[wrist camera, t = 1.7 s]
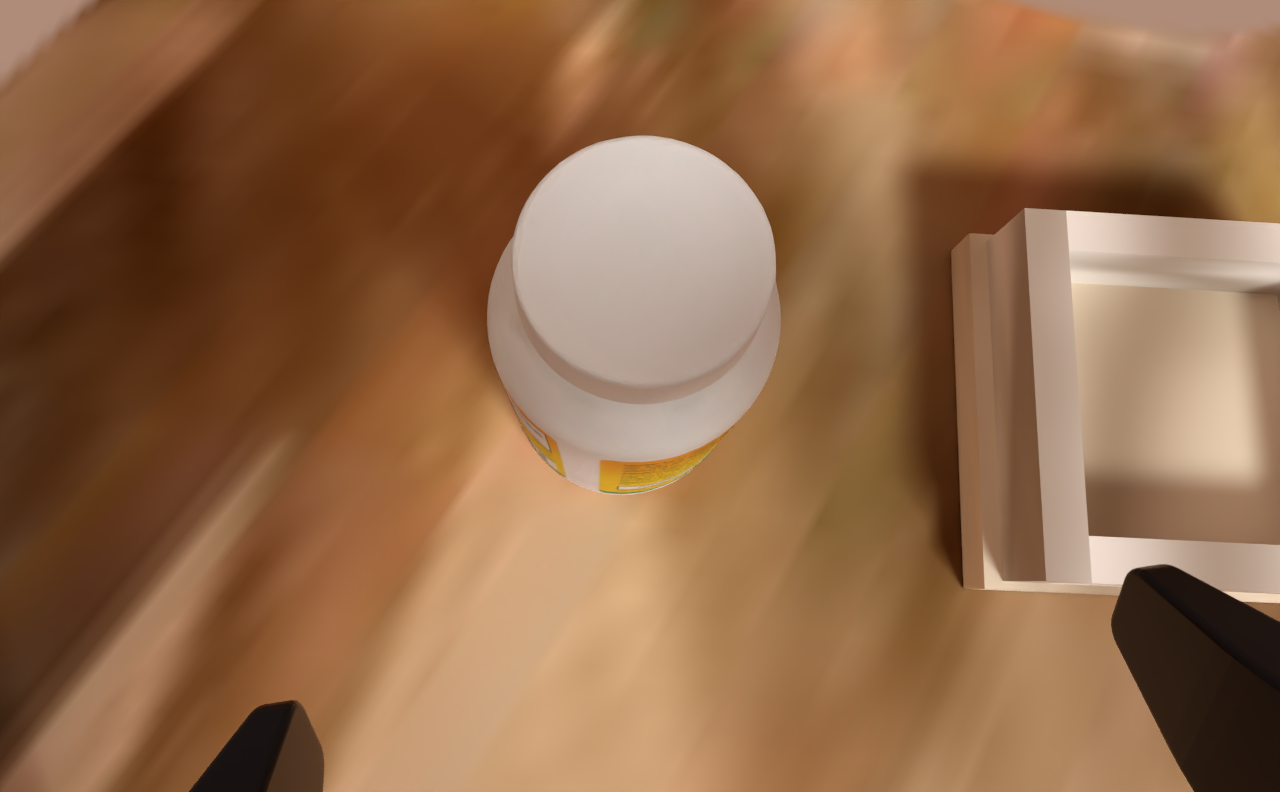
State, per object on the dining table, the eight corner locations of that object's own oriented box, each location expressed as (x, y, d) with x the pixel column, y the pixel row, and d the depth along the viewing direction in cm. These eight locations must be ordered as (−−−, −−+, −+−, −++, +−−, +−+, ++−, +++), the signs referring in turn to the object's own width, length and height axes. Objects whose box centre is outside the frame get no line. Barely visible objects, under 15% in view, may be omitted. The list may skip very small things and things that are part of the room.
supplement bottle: (484, 447, 21) (393, 342, 12) (570, 265, 23) (548, 39, 13) (681, 532, 21) (743, 491, 12) (758, 343, 22) (870, 169, 13)
